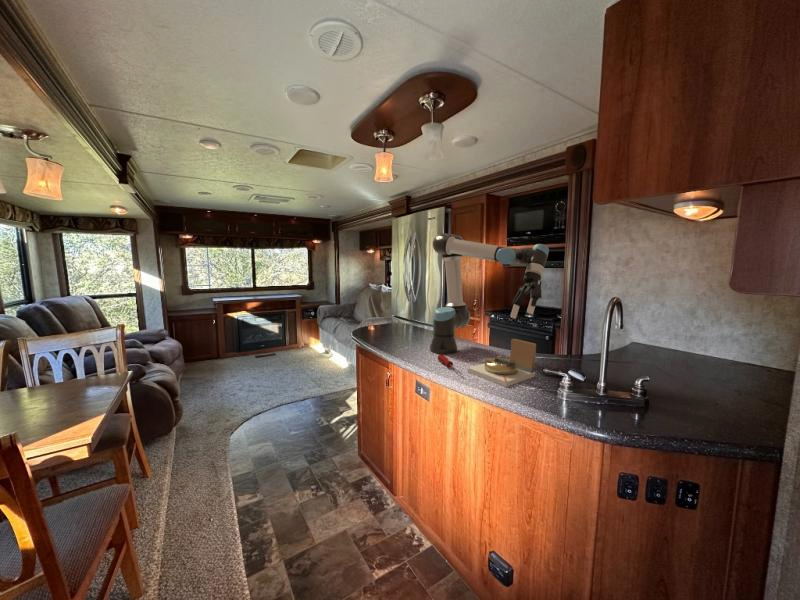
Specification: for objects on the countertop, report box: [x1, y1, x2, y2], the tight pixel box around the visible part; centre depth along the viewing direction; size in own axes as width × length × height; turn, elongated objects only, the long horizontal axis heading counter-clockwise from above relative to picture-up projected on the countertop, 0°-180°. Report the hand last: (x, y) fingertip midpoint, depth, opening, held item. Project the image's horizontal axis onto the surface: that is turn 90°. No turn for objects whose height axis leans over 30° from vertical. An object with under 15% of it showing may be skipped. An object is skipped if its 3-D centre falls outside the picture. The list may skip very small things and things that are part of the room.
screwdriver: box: [437, 354, 463, 376], centre depth 146 cm, size 4×25×4 cm, turn 14°
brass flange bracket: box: [484, 338, 537, 375], centre depth 134 cm, size 22×14×15 cm, turn 35°
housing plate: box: [467, 362, 536, 388], centre depth 138 cm, size 20×20×2 cm
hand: (520, 315), depth 144 cm, fingers open, 13 cm apart
